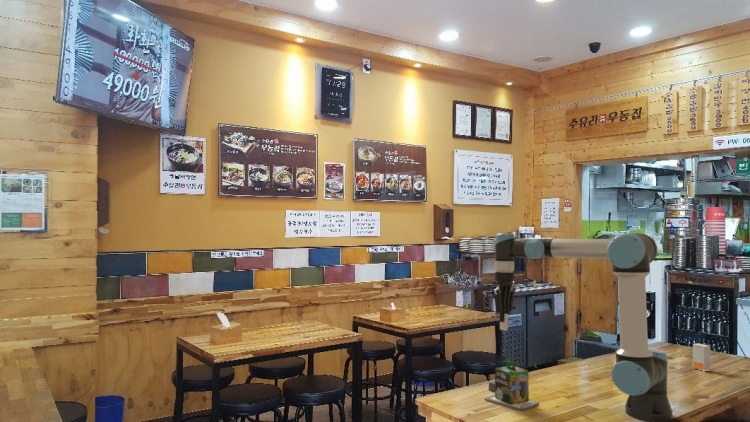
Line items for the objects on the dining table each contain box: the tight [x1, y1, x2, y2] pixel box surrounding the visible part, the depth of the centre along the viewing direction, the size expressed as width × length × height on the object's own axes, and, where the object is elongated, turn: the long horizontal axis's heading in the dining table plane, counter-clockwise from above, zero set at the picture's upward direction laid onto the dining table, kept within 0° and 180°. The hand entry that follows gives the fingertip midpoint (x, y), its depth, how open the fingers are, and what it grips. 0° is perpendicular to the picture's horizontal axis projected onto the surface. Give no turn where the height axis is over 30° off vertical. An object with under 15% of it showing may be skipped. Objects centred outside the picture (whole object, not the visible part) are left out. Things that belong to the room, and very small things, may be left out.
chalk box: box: [494, 359, 530, 404], centre depth 209 cm, size 9×9×15 cm
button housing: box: [488, 380, 495, 393], centre depth 223 cm, size 8×8×3 cm
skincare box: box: [692, 342, 711, 370], centre depth 262 cm, size 6×4×12 cm
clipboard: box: [484, 394, 540, 412], centre depth 208 cm, size 16×12×1 cm
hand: (503, 329), depth 224 cm, fingers closed
